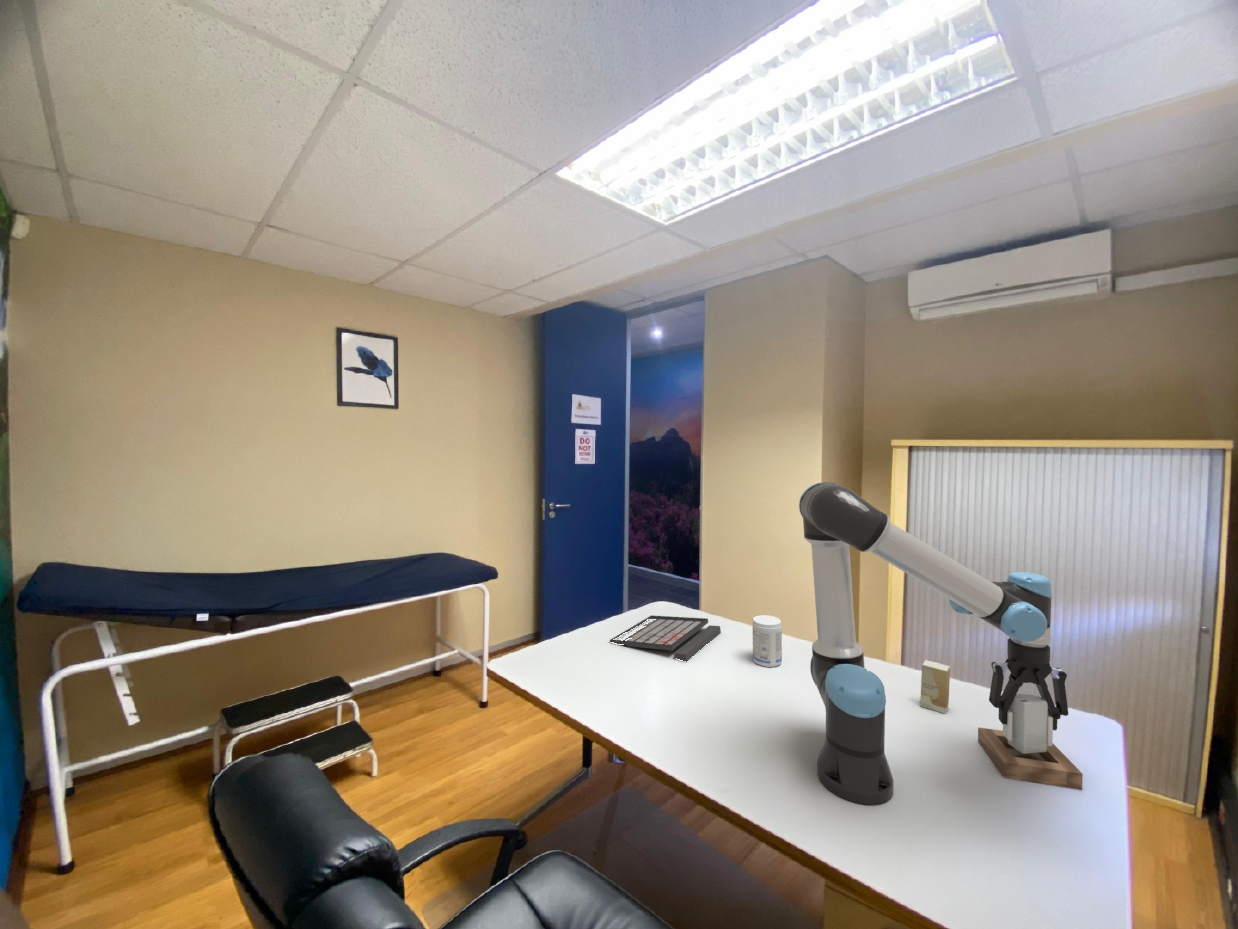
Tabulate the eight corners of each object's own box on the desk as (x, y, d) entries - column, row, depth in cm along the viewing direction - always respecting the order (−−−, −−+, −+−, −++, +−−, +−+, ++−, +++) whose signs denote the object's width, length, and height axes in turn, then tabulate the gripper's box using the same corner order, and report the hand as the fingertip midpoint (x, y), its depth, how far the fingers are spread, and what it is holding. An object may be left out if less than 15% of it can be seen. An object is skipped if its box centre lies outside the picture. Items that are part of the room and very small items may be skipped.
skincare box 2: (1030, 742, 115) (1030, 691, 115) (1048, 753, 111) (1049, 701, 110) (1006, 743, 115) (1006, 692, 114) (1023, 755, 110) (1024, 702, 110)
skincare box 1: (919, 706, 138) (920, 664, 138) (923, 700, 141) (923, 659, 141) (946, 715, 134) (947, 670, 133) (949, 708, 137) (950, 665, 136)
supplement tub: (772, 654, 173) (772, 613, 173) (787, 666, 164) (787, 623, 163) (747, 657, 171) (747, 616, 170) (761, 669, 162) (761, 625, 161)
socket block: (1004, 777, 108) (1004, 762, 108) (977, 741, 122) (978, 727, 121) (1082, 789, 104) (1082, 773, 104) (1045, 750, 118) (1046, 736, 118)
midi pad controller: (612, 658, 185) (687, 667, 168) (609, 640, 185) (684, 647, 168) (652, 627, 212) (721, 632, 194) (650, 611, 212) (718, 615, 194)
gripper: (984, 643, 111) (983, 742, 112) (1092, 652, 106) (1090, 757, 106) (971, 631, 118) (970, 724, 119) (1071, 639, 113) (1069, 737, 113)
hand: (1027, 739), depth 113 cm, fingers closed on skincare box 2, 7 cm apart
